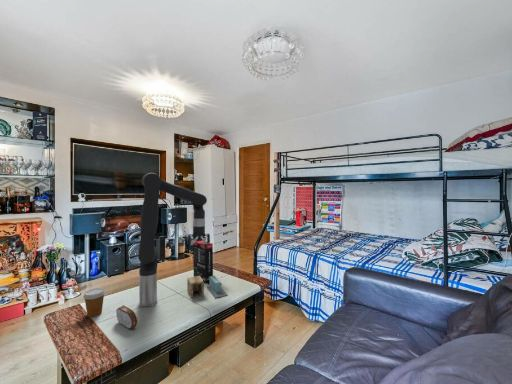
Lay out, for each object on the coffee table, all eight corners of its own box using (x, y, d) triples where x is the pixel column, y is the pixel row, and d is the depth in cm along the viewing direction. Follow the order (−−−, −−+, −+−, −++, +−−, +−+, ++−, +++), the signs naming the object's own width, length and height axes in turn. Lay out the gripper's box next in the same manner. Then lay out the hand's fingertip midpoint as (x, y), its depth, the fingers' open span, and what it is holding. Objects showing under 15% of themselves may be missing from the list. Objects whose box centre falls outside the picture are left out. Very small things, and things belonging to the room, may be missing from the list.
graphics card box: (213, 280, 172) (213, 242, 172) (205, 283, 167) (205, 244, 167) (200, 274, 184) (200, 239, 184) (192, 277, 179) (192, 240, 179)
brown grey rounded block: (138, 329, 113) (137, 311, 113) (131, 332, 110) (131, 314, 110) (121, 319, 121) (121, 303, 121) (115, 322, 119) (115, 305, 118)
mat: (215, 298, 144) (215, 297, 144) (206, 287, 160) (206, 286, 160) (227, 295, 147) (227, 294, 147) (218, 285, 163) (218, 284, 163)
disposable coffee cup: (100, 318, 123) (99, 294, 122) (79, 319, 121) (79, 296, 121) (108, 308, 132) (108, 287, 132) (89, 310, 130) (89, 288, 130)
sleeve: (190, 298, 144) (190, 283, 144) (187, 292, 153) (187, 277, 153) (203, 295, 148) (203, 280, 147) (199, 289, 156) (199, 275, 156)
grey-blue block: (215, 292, 150) (215, 283, 150) (209, 285, 162) (209, 276, 162) (220, 291, 152) (220, 282, 152) (214, 284, 164) (214, 275, 163)
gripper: (189, 226, 148) (188, 252, 148) (211, 225, 154) (210, 250, 155) (186, 224, 155) (186, 249, 155) (208, 224, 161) (207, 248, 161)
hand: (198, 250), depth 155 cm, fingers open, 8 cm apart
